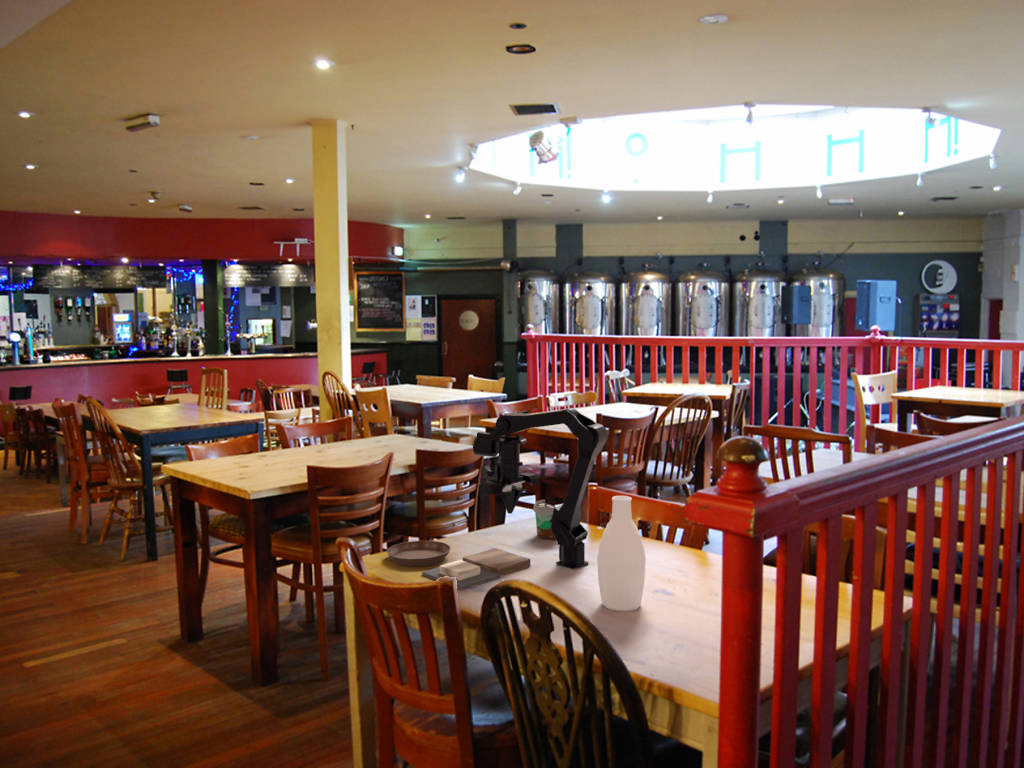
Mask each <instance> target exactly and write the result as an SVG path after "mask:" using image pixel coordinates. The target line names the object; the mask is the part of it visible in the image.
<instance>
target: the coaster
mask: <svg viewBox="0 0 1024 768" xmlns="http://www.w3.org/2000/svg"><path fill="white" fill-rule="evenodd" d="M439 567H440V574H443V575H446V576H449V577H456V580H459V581H460V580H463V579H466V578H470V577H473V576H476V575H479V574H480V566H477V565H474V564H471V563H468V562H465V561H463V559H458V560H456V561H451V562H447V563H444V564H441V565H439Z"/></svg>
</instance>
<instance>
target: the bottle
mask: <svg viewBox="0 0 1024 768" xmlns="http://www.w3.org/2000/svg"><path fill="white" fill-rule="evenodd" d="M632 499H633V498H632V497H631V496H628V495H614V496H612V498H611V501H612V503H611V504H612V506H611V507H612V508H611V519H609V522H608V523H607V525H606V527H605V529H604V530H603V533H602V536H601V539H600V542H599V545H598V552H597V577H598V579H597V581H598V587H599V593H600V601H601V603H602V605H603V607H604V606H605V607H604V608H606V609H607V608H608V609H607V610H610V611H614V610H615V611H616V612H631V611H635V610H637V609H638V608H639V607H641V605H642V599H643V593H644V588H645V587H644V586H645V579H646V559H647V558H646V553H645V552H646V551H645V545H644V542H643V538H642V535H641V533H640V530H639V529H638V527H637V525H636V523H635V522H634V520H633V516H632Z"/></svg>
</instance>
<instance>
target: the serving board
mask: <svg viewBox="0 0 1024 768" xmlns="http://www.w3.org/2000/svg"><path fill="white" fill-rule="evenodd" d="M462 561H465V562H468V563H471V564H474V565H477V566H480V568H483V569H485V570H488V571H491V572H494V573H497V574H500V577H501V576H504V575H507V574H510V573H513V572H517V571H521V570H523V569H526V568H529V566H530V567H531V558H530V557H529V558H528V557H525V556H522V555H518V554H515V553H512V552H508V551H506V550H502V549H499V548H497V547H494V548H491V549H487V550H484V551H481V552H478V553H473V554H470V555H466V556H463V557H462Z"/></svg>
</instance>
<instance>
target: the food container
mask: <svg viewBox="0 0 1024 768" xmlns="http://www.w3.org/2000/svg"><path fill="white" fill-rule="evenodd" d="M556 507H557V506H555V505H553V504H549V503H547V502H546V499H540V500H537V501H535V502H534V505H533V509H532V511H533V512H534V514H535V523H536V536H537V538H539V539H542V540H546V539H548V540H547V541H557V540H556V537H555V535H554V534H553V532H552V530H551V523H552V522H549V521H550V520H551V519H552V516H553V510H554V508H556Z"/></svg>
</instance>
